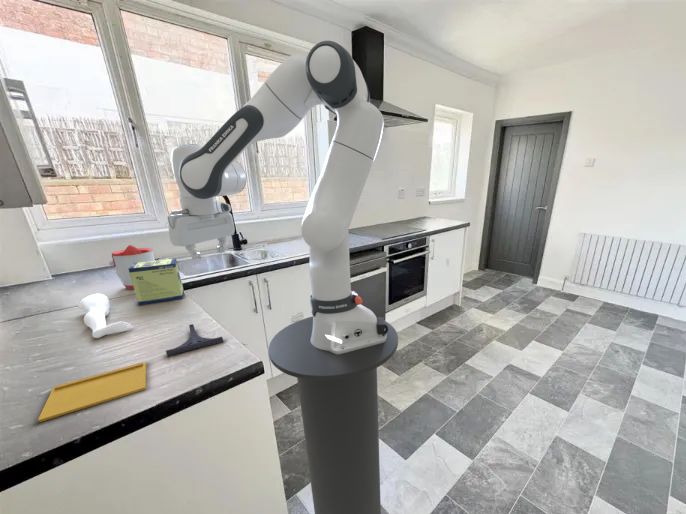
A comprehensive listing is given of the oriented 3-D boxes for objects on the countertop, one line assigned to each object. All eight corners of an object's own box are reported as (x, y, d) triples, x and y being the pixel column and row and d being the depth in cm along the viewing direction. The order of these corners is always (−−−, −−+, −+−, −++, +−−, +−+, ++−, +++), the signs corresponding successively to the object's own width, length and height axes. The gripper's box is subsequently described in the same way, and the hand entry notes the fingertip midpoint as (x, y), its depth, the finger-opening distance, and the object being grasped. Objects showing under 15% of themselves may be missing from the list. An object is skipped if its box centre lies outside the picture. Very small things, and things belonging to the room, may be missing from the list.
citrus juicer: (116, 286, 148) (102, 245, 141) (159, 279, 158) (149, 240, 151) (116, 295, 136) (102, 250, 130) (163, 286, 147) (152, 244, 140)
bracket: (216, 325, 106) (215, 317, 105) (223, 342, 94) (221, 334, 93) (166, 337, 98) (164, 329, 98) (167, 357, 87) (164, 348, 86)
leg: (108, 288, 123) (72, 295, 116) (129, 316, 102) (87, 327, 95) (113, 303, 126) (78, 311, 118) (135, 334, 105) (94, 346, 97)
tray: (146, 364, 83) (145, 361, 83) (145, 389, 73) (144, 385, 73) (53, 390, 74) (52, 386, 73) (38, 422, 64) (36, 418, 63)
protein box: (183, 298, 131) (174, 263, 126) (138, 305, 124) (127, 268, 119) (184, 291, 140) (176, 257, 134) (142, 297, 133) (132, 262, 127)
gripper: (176, 211, 77) (188, 264, 82) (234, 205, 95) (241, 248, 100) (156, 211, 79) (170, 263, 83) (217, 204, 97) (225, 248, 102)
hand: (209, 255), depth 92 cm, fingers open, 8 cm apart
